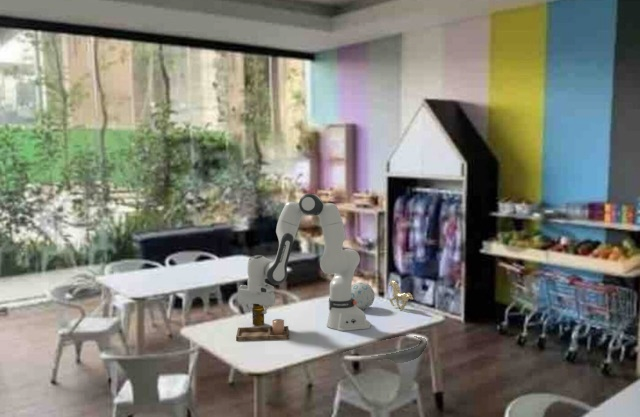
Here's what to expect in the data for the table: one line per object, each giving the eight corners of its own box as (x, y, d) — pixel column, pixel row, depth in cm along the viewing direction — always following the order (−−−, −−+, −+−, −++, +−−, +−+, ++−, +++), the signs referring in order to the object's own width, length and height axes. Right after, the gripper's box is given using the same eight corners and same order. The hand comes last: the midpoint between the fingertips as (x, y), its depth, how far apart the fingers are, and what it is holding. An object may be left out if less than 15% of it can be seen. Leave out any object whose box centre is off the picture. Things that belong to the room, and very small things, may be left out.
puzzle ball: (346, 305, 333) (346, 280, 331) (371, 304, 335) (371, 279, 333) (350, 313, 318) (350, 286, 316) (377, 312, 320) (377, 285, 318)
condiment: (267, 325, 297) (267, 303, 296) (252, 328, 292) (252, 305, 291) (260, 322, 303) (260, 300, 302) (246, 325, 298) (245, 302, 297)
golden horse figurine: (415, 312, 318) (415, 282, 316) (410, 314, 315) (410, 283, 313) (391, 304, 334) (391, 275, 332) (386, 305, 332) (386, 276, 330)
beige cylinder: (284, 332, 284) (283, 318, 283) (284, 336, 278) (284, 322, 277) (272, 332, 283) (272, 319, 283) (272, 336, 278) (272, 322, 277)
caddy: (288, 330, 288) (288, 326, 288) (288, 340, 274) (288, 335, 274) (238, 332, 286) (238, 327, 286) (236, 341, 272) (236, 336, 272)
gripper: (235, 286, 297) (235, 312, 298) (271, 290, 289) (271, 316, 291) (241, 283, 302) (241, 308, 304) (276, 287, 295) (276, 313, 297)
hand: (256, 312), depth 297 cm, fingers open, 8 cm apart
